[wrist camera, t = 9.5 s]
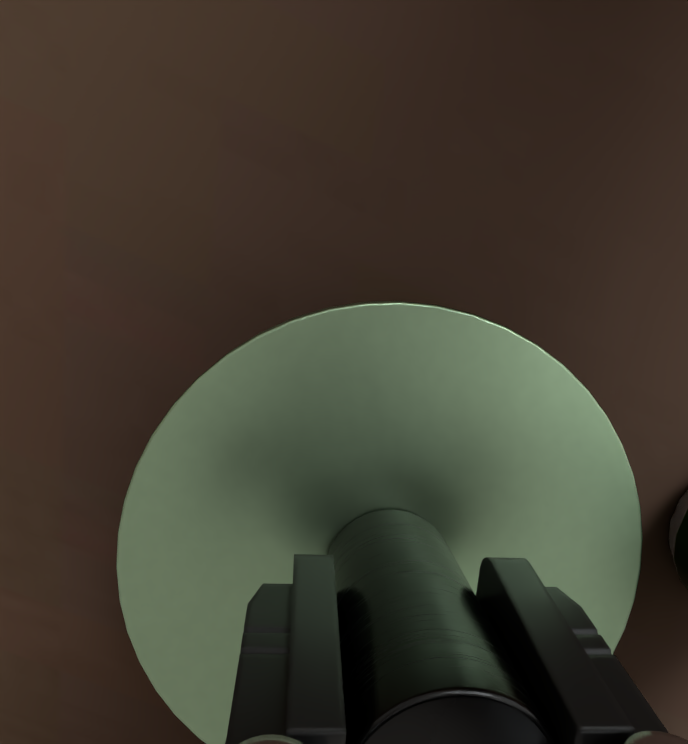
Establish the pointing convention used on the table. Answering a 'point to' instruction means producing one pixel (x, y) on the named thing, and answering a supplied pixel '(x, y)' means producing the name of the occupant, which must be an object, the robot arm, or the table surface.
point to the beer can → (680, 539)
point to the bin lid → (377, 514)
